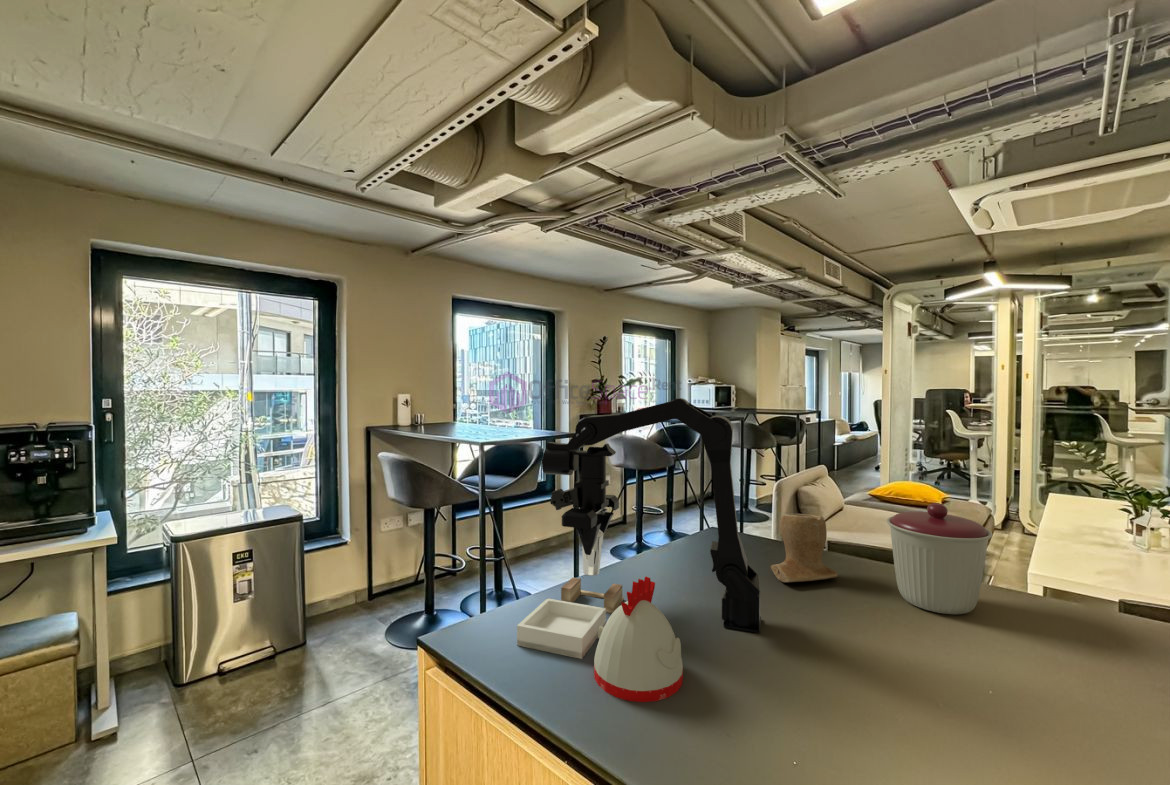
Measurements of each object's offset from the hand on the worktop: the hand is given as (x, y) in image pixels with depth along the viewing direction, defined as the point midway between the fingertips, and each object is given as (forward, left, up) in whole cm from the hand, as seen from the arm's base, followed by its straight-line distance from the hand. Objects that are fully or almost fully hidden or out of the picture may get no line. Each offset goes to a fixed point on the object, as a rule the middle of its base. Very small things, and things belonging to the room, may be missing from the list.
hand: (592, 551), depth 107 cm
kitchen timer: (-16, +22, -11) cm, 29 cm away
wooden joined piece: (0, 0, -11) cm, 11 cm away
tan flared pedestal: (-41, -32, -11) cm, 53 cm away
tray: (0, +15, -11) cm, 19 cm away
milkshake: (0, +1, -5) cm, 5 cm away
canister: (-67, -26, -11) cm, 73 cm away
